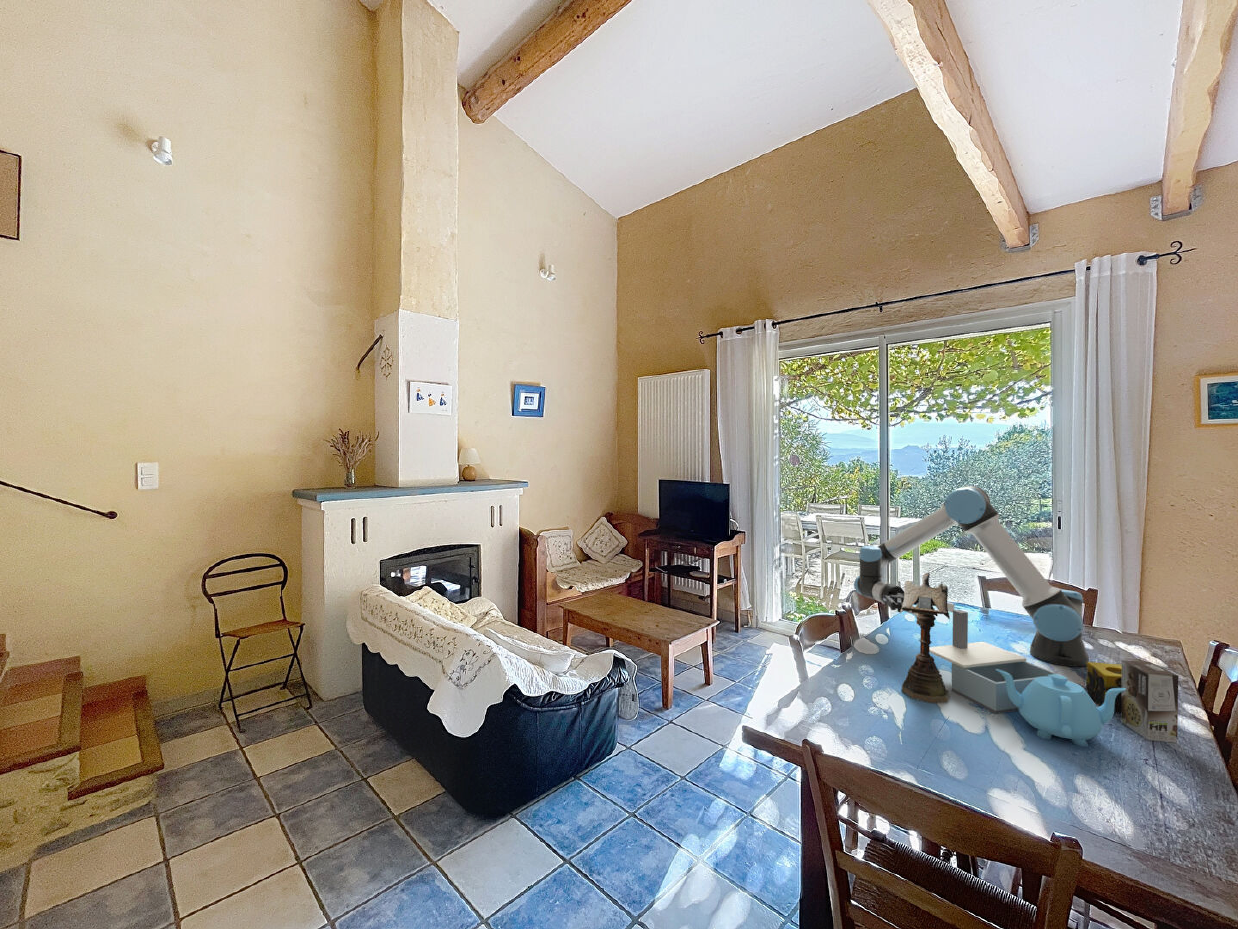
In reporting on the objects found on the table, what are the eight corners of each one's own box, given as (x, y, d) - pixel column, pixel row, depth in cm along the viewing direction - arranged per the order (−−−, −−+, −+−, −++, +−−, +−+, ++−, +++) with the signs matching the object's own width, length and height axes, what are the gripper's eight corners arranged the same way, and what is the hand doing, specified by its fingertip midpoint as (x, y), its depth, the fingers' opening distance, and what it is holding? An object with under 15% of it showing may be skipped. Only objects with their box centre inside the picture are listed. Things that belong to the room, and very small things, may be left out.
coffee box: (1179, 743, 125) (1180, 676, 125) (1147, 740, 127) (1148, 673, 126) (1149, 724, 134) (1150, 661, 134) (1119, 721, 136) (1120, 659, 135)
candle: (1130, 700, 147) (1130, 665, 147) (1153, 718, 137) (1153, 679, 137) (1084, 695, 150) (1085, 660, 150) (1104, 712, 141) (1104, 674, 141)
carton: (1012, 683, 158) (1013, 656, 158) (1061, 704, 145) (1061, 675, 144) (951, 690, 153) (951, 663, 153) (995, 714, 140) (996, 683, 140)
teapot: (1126, 747, 124) (1127, 687, 124) (1056, 755, 121) (1057, 694, 120) (1057, 713, 140) (1058, 660, 140) (994, 720, 137) (994, 666, 136)
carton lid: (983, 644, 168) (983, 607, 168) (1026, 661, 154) (1026, 620, 154) (924, 650, 163) (925, 612, 163) (963, 668, 149) (964, 626, 149)
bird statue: (953, 716, 139) (954, 583, 138) (897, 702, 146) (898, 576, 145) (956, 692, 152) (958, 571, 151) (905, 681, 160) (906, 565, 159)
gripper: (917, 601, 197) (967, 618, 176) (859, 607, 191) (903, 624, 170) (917, 581, 197) (967, 595, 176) (859, 586, 191) (903, 601, 170)
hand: (936, 610), depth 173 cm, fingers open, 13 cm apart
